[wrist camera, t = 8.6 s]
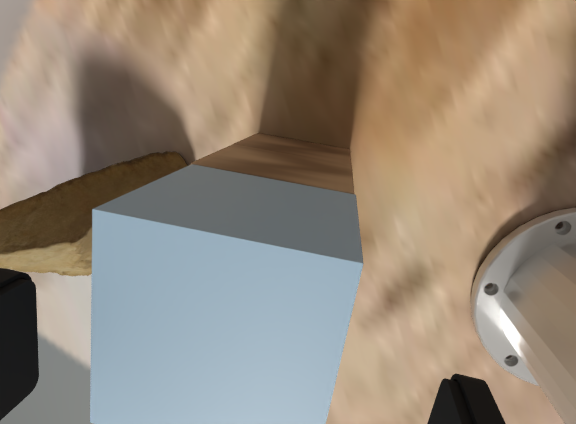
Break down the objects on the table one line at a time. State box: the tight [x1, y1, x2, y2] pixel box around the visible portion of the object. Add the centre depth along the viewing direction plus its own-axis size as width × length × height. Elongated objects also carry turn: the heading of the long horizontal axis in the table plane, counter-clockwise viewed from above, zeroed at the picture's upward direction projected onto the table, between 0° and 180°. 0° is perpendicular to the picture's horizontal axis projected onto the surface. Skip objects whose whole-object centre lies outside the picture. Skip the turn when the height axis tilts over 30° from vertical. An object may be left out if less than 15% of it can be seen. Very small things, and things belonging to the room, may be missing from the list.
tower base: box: [234, 133, 351, 165], centre depth 24 cm, size 6×6×6 cm
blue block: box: [90, 164, 363, 424], centre depth 12 cm, size 6×6×6 cm
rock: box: [0, 152, 187, 276], centre depth 26 cm, size 11×9×10 cm
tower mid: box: [190, 144, 354, 194], centre depth 18 cm, size 6×6×6 cm
